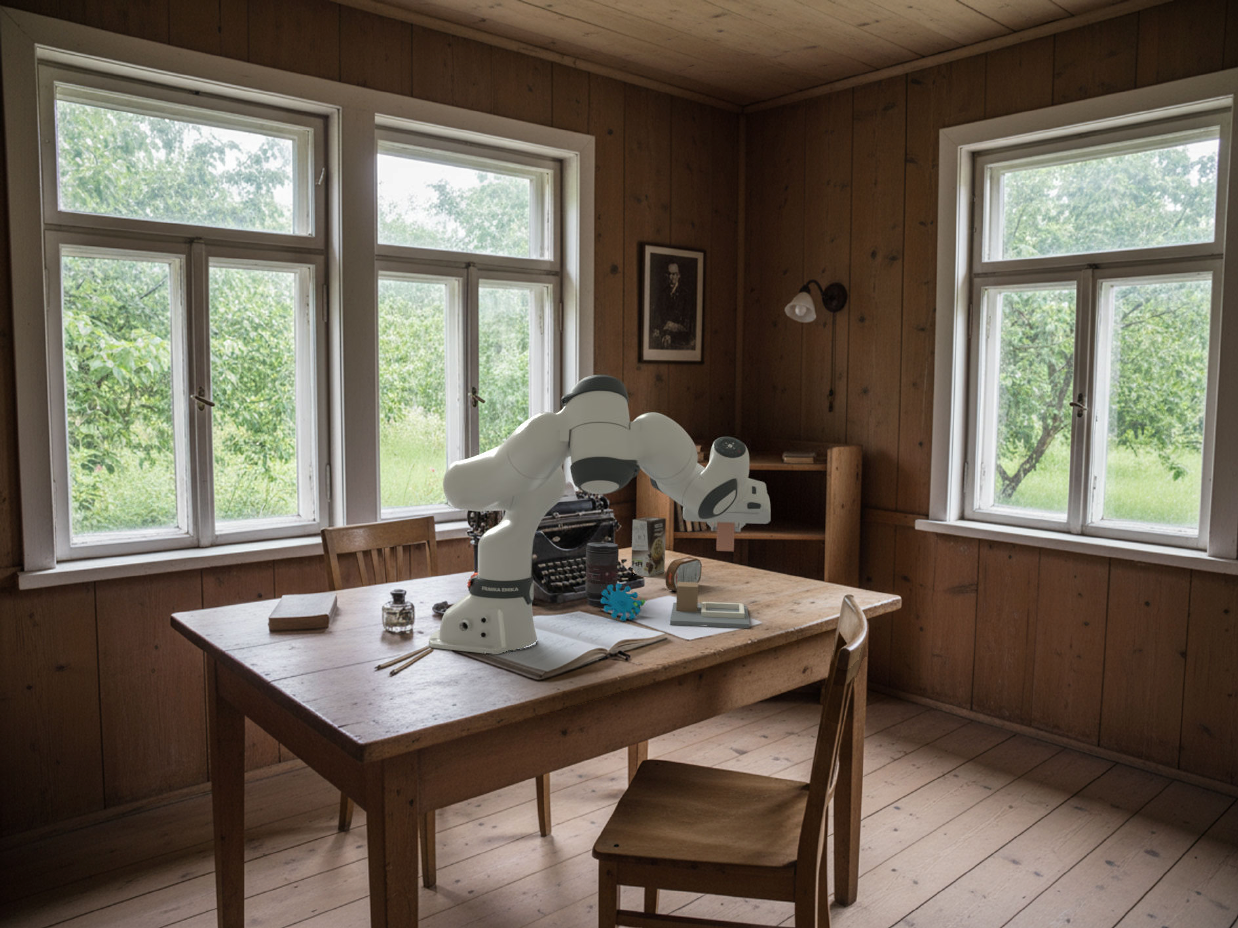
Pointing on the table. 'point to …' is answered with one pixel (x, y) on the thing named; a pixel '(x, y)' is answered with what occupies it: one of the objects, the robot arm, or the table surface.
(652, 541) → the coffee box
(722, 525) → the pillar block
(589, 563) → the camera lens
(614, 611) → the gear
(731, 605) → the base plate
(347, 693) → the table surface
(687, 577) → the tin
